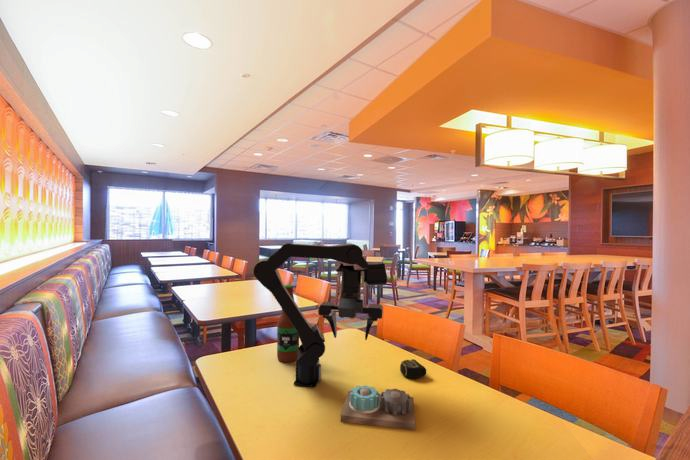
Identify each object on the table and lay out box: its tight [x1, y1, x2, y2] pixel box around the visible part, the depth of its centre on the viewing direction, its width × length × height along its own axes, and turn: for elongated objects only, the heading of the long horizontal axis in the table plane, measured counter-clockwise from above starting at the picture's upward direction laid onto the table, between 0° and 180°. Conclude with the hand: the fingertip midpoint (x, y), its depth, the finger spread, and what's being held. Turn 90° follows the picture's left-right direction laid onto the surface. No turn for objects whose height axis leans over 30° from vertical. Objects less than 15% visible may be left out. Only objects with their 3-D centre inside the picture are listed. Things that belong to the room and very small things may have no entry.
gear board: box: [340, 388, 416, 431], centre depth 79 cm, size 17×11×5 cm, turn 80°
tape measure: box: [399, 359, 427, 379], centre depth 98 cm, size 7×7×4 cm
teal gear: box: [350, 384, 380, 411], centre depth 79 cm, size 7×7×3 cm
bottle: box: [276, 284, 300, 363], centre depth 109 cm, size 7×7×25 cm
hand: (350, 338), depth 95 cm, fingers open, 9 cm apart
